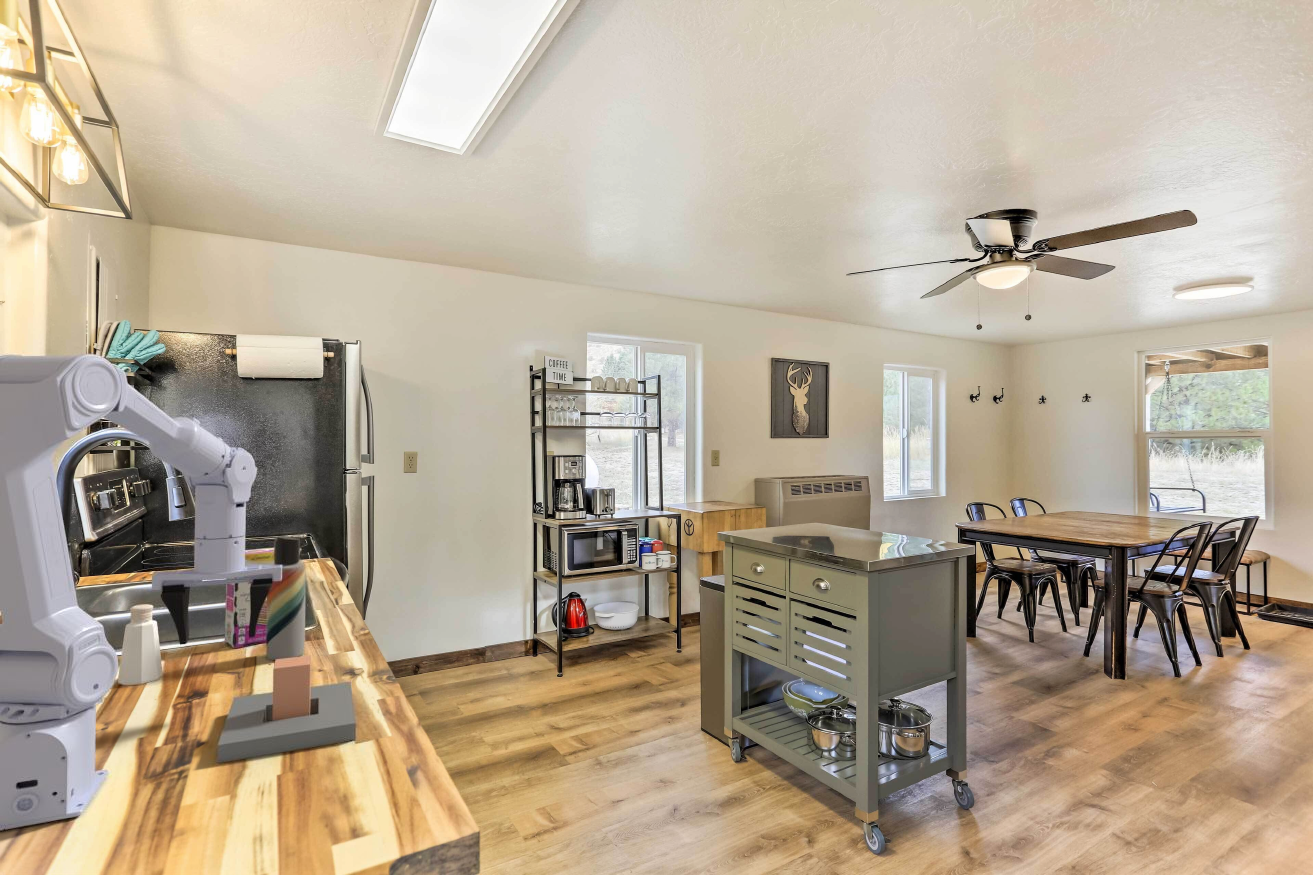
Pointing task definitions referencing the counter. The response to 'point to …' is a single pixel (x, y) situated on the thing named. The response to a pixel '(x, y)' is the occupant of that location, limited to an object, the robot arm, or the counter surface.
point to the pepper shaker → (140, 648)
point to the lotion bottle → (286, 603)
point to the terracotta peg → (291, 687)
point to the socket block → (287, 724)
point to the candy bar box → (246, 604)
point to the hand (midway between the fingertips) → (218, 638)
